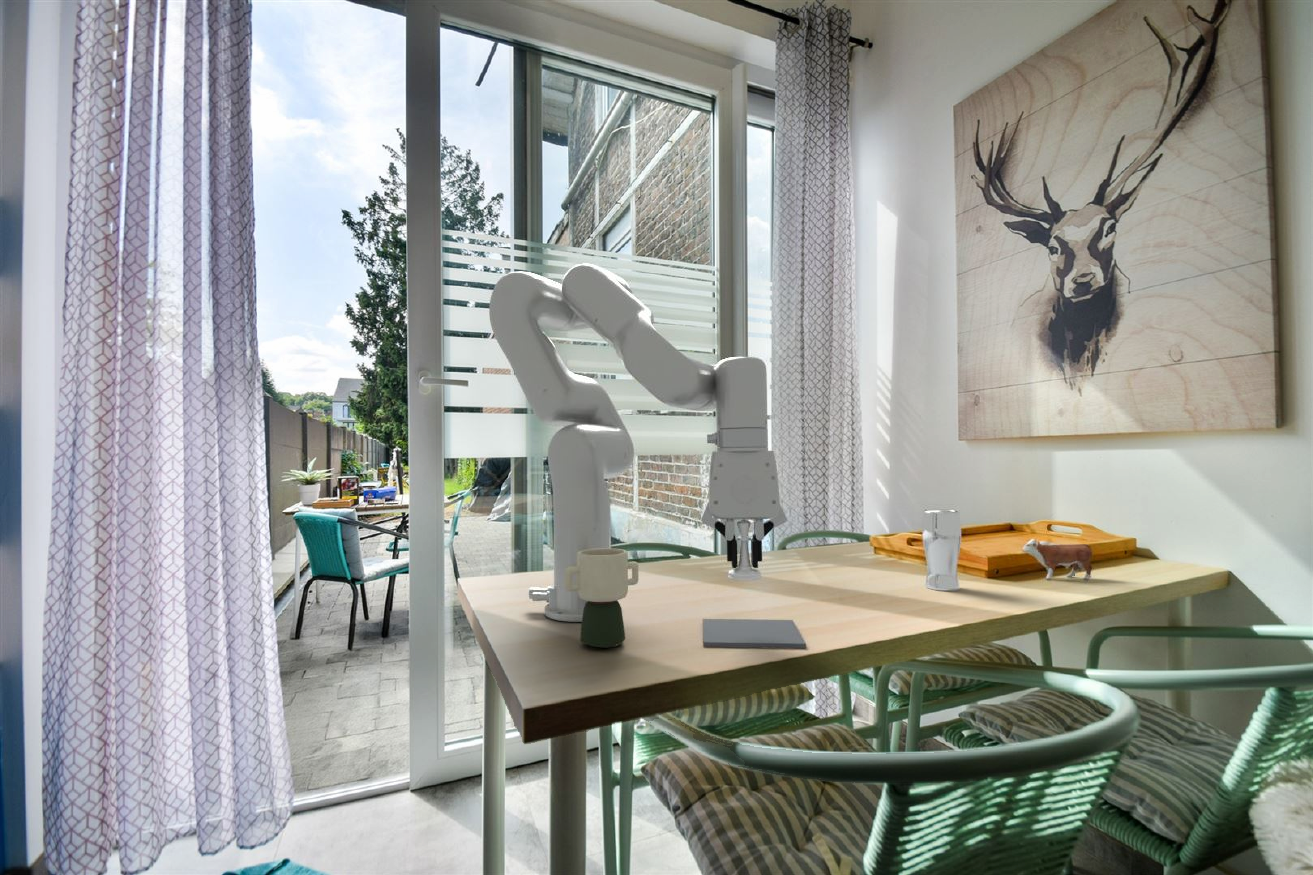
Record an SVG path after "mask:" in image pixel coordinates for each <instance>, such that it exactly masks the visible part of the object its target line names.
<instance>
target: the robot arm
mask: <svg viewBox="0 0 1313 875" xmlns="http://www.w3.org/2000/svg"><path fill="white" fill-rule="evenodd" d="M488 311H489V314H488V315H489V321H490V323H489V324H490V327H491V330H492V332H493V335H494V337H495V339H496V342H497V343H498V345H499V347H500V349H501V350H502V352H503V354H504V355H505V357H506V359H507V362H508V363H509V365H510V366H511V368H512V371H513V373H514V375H515V378H516V379H517V380H516V381H517V382H518V383H519V386H520V388H521V390H522V392H523V394H524V396H525V398H526V401H527V402H528V404H529V406H530V408H531V410H532V412H533V414H534V415H535V417H536V418H537V420H539V421H540V422H541V423H543V424H545V425H547V426H553V427H561V429H559V430H557V432H555V434H554V435H553V436H552V438H551V439H550V441H549V445H548V446H547V447H548V448H547V463H548V469H549V473H550V474H549V476H550V479H551V488H552V498H553V499H552V500H553V502H552V503H553V507H552V508H553V584H552V585H549V586H548V587H543V588H542V587H530V588H529V591H528V597H529V599H530V600H532V601H534V602H541V601H544V602H546V603H547V604H546V605H545V606H544V608H543V610H544V615H545V616H546V617H547V618H549V619H551V620H555V621H561V622H570V623H571V622H572V623H582V617H583V610H584V606H585V604H586V603H587V602H588V601H586V600H584V599H581V598H580V597H579V594H578V592H577V591H566V590H565V569H566V568H568V567H575V566H577V552H579V551H582V550H586V549H594V548H612V546H611V545H612V543H611V539H612V537H611V536H612V534H611V533H612V532H611V531H612V529H611V527H612V525H611V524H612V523H611V522H612V521H611V520H612V519H611V500H610V494H609V490H608V488H607V484H606V481H605V480H608V479H613V478H617V477H620V476H622V475H624V474H625V473H627V471H629V469H630V468H631V466H632V463H633V461H634V456H635V449H634V443H633V441H632V437H631V435H630V432H628V429H627V427H626V426H625V424H624V422H623V420H622V418H621V416H620V415H619V413H618V411H617V409H616V407H615V405H614V403H613V401H612V399H611V397H610V396H609V394H608V393H607V391H606V390H605V389H604V387H603V386H602V385H601V384H600V383H599V382H597V381H596V380H594V379H593V378H590V377H588V376H583V375H579V374H575V373H573V372H571V370H569V369H568V367H567V366H566V364H565V363H564V361H563V360H562V357H561V356H560V353H559V352H558V349H557V347H556V346H555V344H554V342H553V341H552V340H551V339H550V338H549V336H548V335H547V334H546V333H545V332H544V331H543V329H542V328H545V329H548V330H551V331H557V332H569V331H578V330H584V329H593V331H594V332H595V333H597V334H598V335H599V336H600V337H601V338H602V339H603V340H604V341H605V342H606V343H607V344H609V345H610V346H611V347H612V348H613V349H614V350H615V353H616V356H617V358H618V359H619V360H620V362H621V364H622V366H623V367H624V368H625V369H626V371H627V372H628V373H629V374H630V375H631V376H632V378H634V379H635V380H636V381H637V383H639V384H641V386H642V387H644V388H645V389H646V391H648V392H649V393H650V394H651V395H653V396H652V397H655V398H656V399H657V400H658V401H659V402H661V403H663V404H664V405H667V406H669V407H671V408H677V409H678V408H679V409H684V410H689V411H696V412H701V411H702V412H704V411H710V410H715V412H716V414H715V415H716V417H715V418H716V431H715V432H714V433H711V434H706V443H707V444H711V445H714V446H716V451H712V452H711V457H710V463H709V464H710V465H709V475H708V476H709V477H708V480H709V481H708V502H707V505H706V507H705V509H704V511H703V514H702V515H701V518H700V521H701V523H702V524H703V525H706V526H709V527H711V528H713V529H716V531H717V532H718V533H720V534H721V535H722V536H723V537H724V539H725V540H726V562H727V563H728V562H731V567H732V569H736V568H738V565H739V561H738V540H737V538H736V534H734V532H735V528H734V527H735V525H734V524H735V520H742V519H745V520H753V521H752V522H753V534H752V538H751V540H750V557H751V559H750V564H751V565H752V568H753V569H758V568H759V562H763V540H764V539H765V537H766V536H767V535H768V534H769V533H770V532H771V531H772V530H773V529H774V528H777V527H778V526H781V525H784V524H785V523H787V521H788V518H787V515H786V514H785V511H784V509H783V507H782V505H781V503H780V502H781V501H780V489H779V488H780V487H779V486H780V485H779V476H778V467H777V466H778V465H777V461H776V455H775V451H774V450H769V436H768V435H769V434H768V432H769V431H768V426H769V425H768V378H767V377H768V375H767V372H768V371H767V367H766V363H765V362H764V360H762V359H760V358H759V357H755V356H754V357H753V356H736V357H735V356H734V357H728V358H725V359H722V360H720V361H719V362H717V364H710V363H706V362H703V361H702V362H701V361H699V360H696V359H694V358H690V357H687V356H686V355H685V354H683V353H682V352H680V350H678V348H676V347H675V346H673V344H671V343H670V342H669V341H668V340H667V339H666V338H664V336H662V335H661V333H660V332H658V330H657V329H655V327H654V320H655V319H654V314H653V313H652V311H651V309H649V308H648V307H647V306H646V305H644V303H642V302H641V301H640V300H639V299H637V298H636V297H635V296H634V294H633V291H632V289H631V286H630V285H629V284H628V283H627V282H626V280H624V279H623V278H622V277H620V276H618V275H616V274H614V273H612V272H610V271H608V270H606V269H604V268H602V267H599V266H598V265H595V264H590V263H582V264H576V265H575V266H573V267H572V268H569V270H567V272H566V273H565V274H564V276H563V279H562V281H561V284H560V283H558V282H556V281H553V280H551V279H548V278H547V277H544V276H541V275H538V274H535V273H532V272H528V271H512V272H508V273H506V274H505V275H503V276H501V277H500V279H498V281H497V282H496V284H495V286H494V287H493V289H492V292H491V294H490V300H489V310H488ZM721 520H724V523H723V522H722V521H721ZM764 520H765V521H764ZM571 583H572V584H577V573H576V574H572V575H571Z"/></svg>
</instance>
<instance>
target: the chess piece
mask: <svg viewBox="0 0 1313 875" xmlns="http://www.w3.org/2000/svg"><path fill="white" fill-rule="evenodd" d="M736 524H737V528H738V531H739V536H737V537H736V540H737V541H740V551H739V559H738V560H739V561H738V567H736V568H732V569H731V570H729V571H728V576H727V577H728V579H731V580H736V581H757V580H760V579H762V578H763V576H762V571H760V570H758V569H757V568H754V567H753V566H752V564H751V559H750V553H749V545H748V544H749V543H748V541H751V539H752V538H751V537H750V536H749V535H748V534H749V531H750V528H751V525H752V524H751V521H749V520H748V519H740V520H739V521H737V522H736Z"/></svg>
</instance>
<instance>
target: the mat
mask: <svg viewBox="0 0 1313 875" xmlns="http://www.w3.org/2000/svg"><path fill="white" fill-rule="evenodd" d="M702 646H703V647H708V648H709V647H710V648H711V647H713V648H714V647H715V648H716V647H717V648H764V647H778V649H779V648H780V649H782V648H783V649H807V643H806V642H805V640H804V638H803V635H802V634H801V633H800V630H799V629H798V627H797V625H796V624H795V622H794V620H793V619H755V618H754V619H751V618H750V619H741V618H740V619H738V618H702ZM781 647H782V648H781Z"/></svg>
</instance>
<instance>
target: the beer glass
mask: <svg viewBox="0 0 1313 875" xmlns="http://www.w3.org/2000/svg"><path fill="white" fill-rule="evenodd" d="M921 524H922V526H921V527H922V528H921V534H922V543H923V544H922V545H923V550H924V554H925V555H924V556H925V560H926V567H927V571H926V572H927V573H926V578H925V588H927V589H929V590H933V591H939V592H940V591H942V592H957V591H959V590H960V589H961V588H960V583H959V578H958V564H959V563H958V562H959V555H960V550H961V544H962V522H961V515H960V511H959V510H954V509H953V510H952V509H923V510H922V523H921Z"/></svg>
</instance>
